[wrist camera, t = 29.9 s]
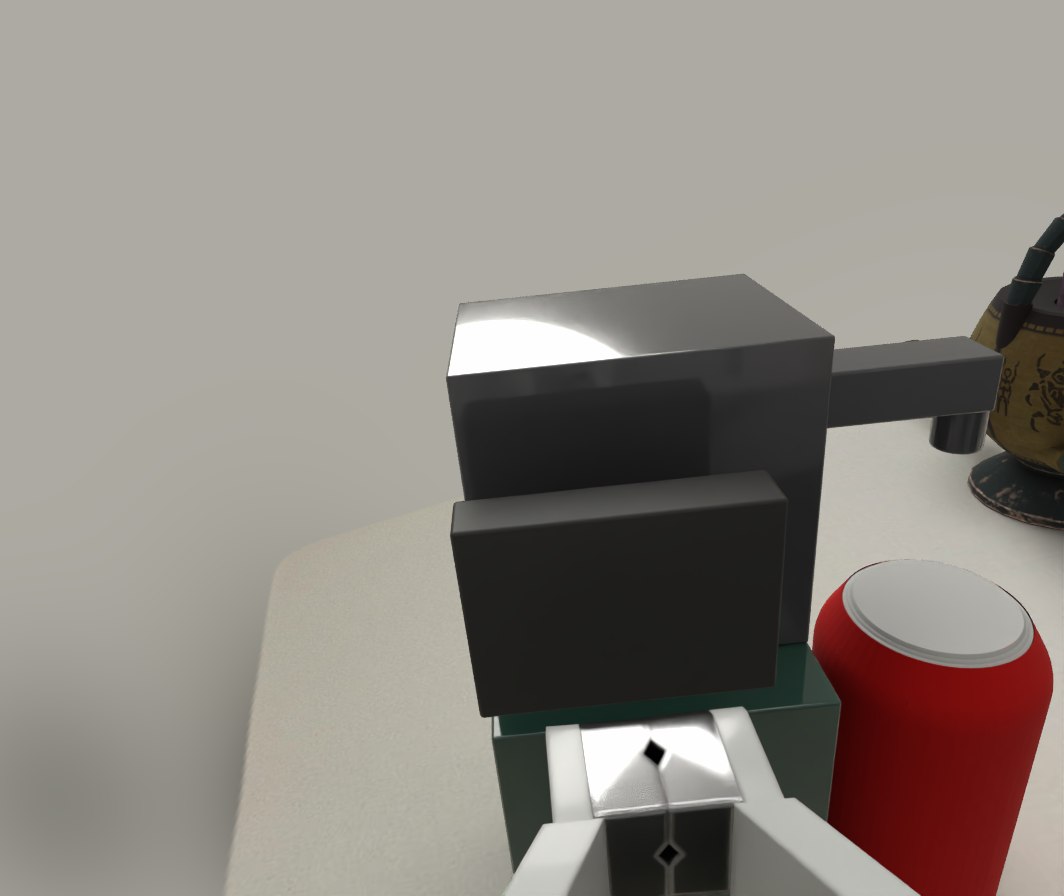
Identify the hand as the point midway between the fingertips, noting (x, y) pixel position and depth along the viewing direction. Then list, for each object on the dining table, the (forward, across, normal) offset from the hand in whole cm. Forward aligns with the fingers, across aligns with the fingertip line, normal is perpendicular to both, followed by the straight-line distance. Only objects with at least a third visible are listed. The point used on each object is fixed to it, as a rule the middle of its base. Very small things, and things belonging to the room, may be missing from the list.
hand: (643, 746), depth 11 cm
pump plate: (+4, 0, +2) cm, 4 cm away
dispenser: (+8, -4, +17) cm, 19 cm away
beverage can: (+8, -10, +17) cm, 21 cm away
